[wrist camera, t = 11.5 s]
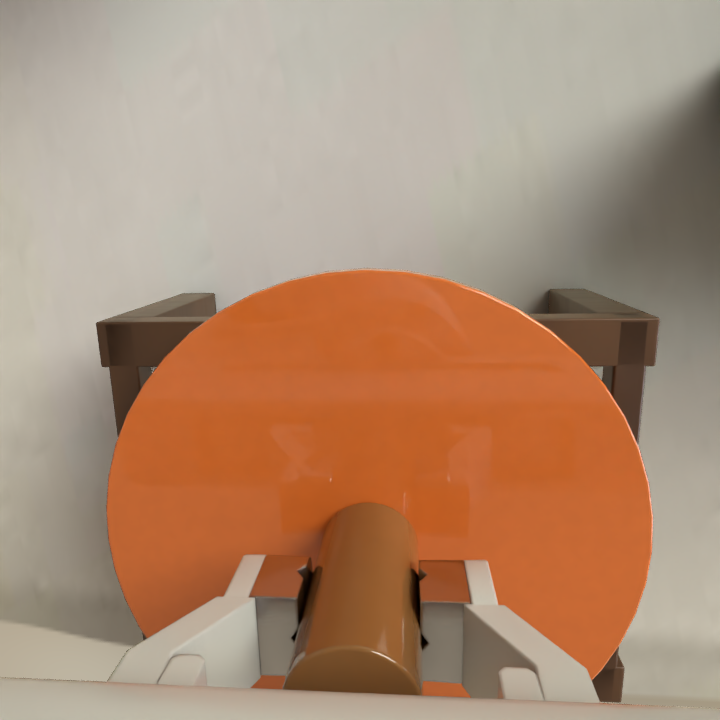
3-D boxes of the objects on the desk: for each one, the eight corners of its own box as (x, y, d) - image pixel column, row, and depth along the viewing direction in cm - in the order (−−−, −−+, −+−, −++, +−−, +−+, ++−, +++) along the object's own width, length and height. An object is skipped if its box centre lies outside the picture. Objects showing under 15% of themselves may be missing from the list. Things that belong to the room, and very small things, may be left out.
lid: (154, 718, 18) (25, 973, 12) (97, 269, 15) (-119, 305, 9) (612, 740, 17) (728, 1033, 11) (660, 261, 14) (863, 294, 8)
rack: (207, 567, 23) (141, 682, 18) (182, 293, 21) (95, 322, 15) (565, 576, 22) (621, 703, 16) (585, 288, 20) (661, 317, 14)
